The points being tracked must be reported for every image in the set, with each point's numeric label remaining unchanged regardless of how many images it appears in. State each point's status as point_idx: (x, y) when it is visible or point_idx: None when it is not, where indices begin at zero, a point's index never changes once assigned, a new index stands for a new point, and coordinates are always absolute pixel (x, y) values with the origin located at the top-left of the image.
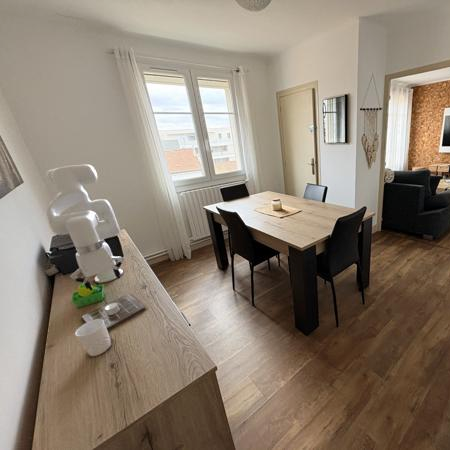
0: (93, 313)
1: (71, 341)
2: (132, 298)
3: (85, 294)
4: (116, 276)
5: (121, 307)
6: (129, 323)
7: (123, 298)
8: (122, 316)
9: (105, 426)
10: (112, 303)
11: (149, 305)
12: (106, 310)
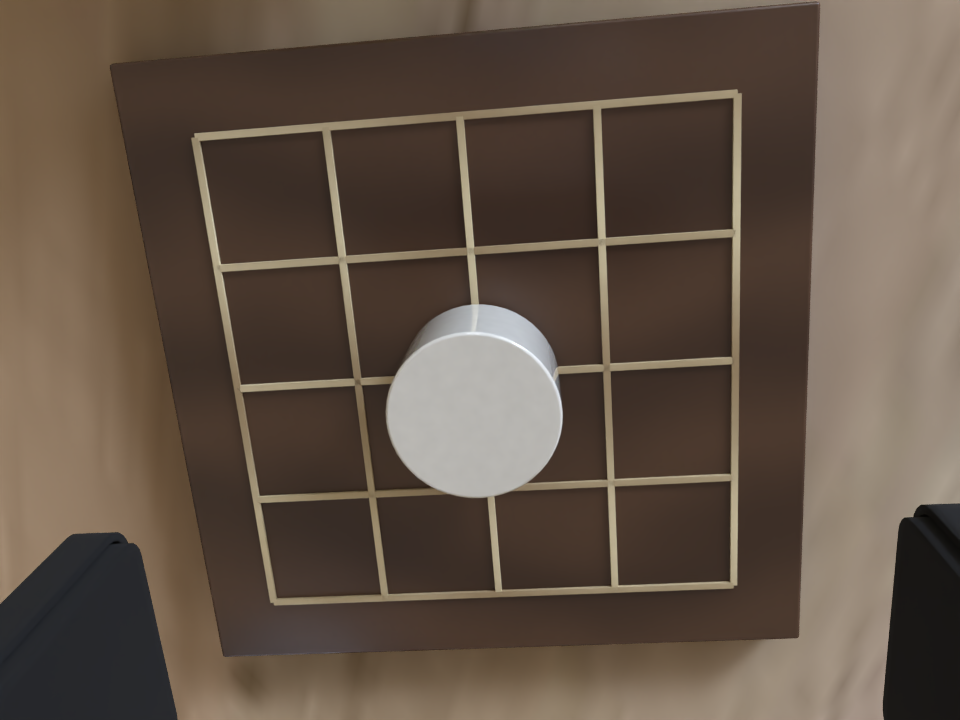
0: (255, 144)
1: (14, 485)
2: (793, 250)
3: None
4: (910, 634)
5: (588, 366)
6: (550, 708)
7: (701, 105)
8: (530, 594)
9: None
10: (508, 350)
11: (861, 573)
12: (396, 439)
